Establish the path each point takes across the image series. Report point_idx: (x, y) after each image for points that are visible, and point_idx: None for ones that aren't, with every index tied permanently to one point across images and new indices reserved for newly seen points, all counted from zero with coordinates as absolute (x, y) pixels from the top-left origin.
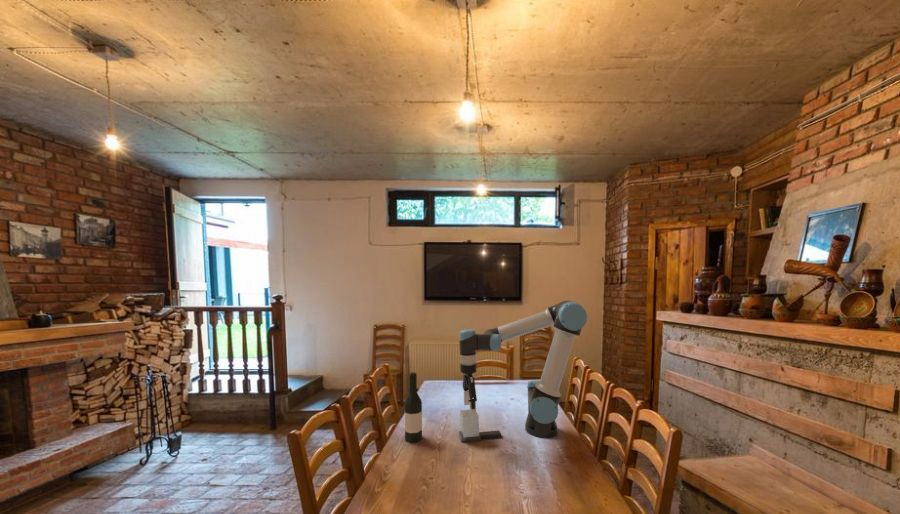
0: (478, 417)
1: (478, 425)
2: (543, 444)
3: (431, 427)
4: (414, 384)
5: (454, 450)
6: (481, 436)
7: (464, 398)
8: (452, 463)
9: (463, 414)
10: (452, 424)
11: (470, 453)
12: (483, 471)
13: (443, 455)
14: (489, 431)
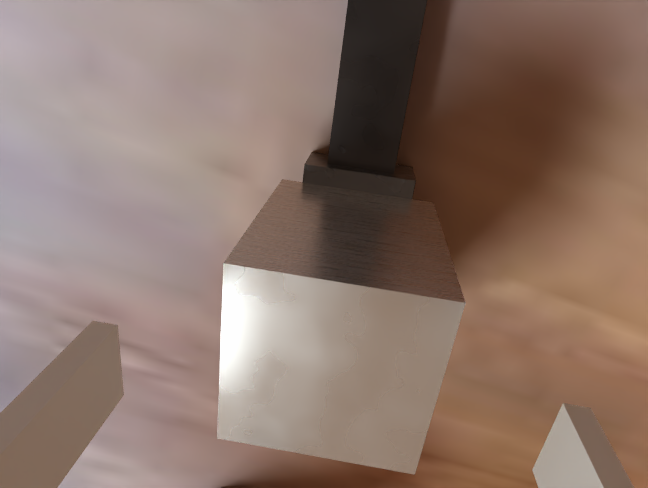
0: (460, 289)
1: (446, 245)
2: None
3: (111, 413)
4: None
5: (474, 387)
6: (396, 156)
7: (60, 480)
8: (620, 443)
9: (350, 448)
10: (76, 278)
11: (568, 312)
12: None
13: (502, 456)
14: (347, 43)
